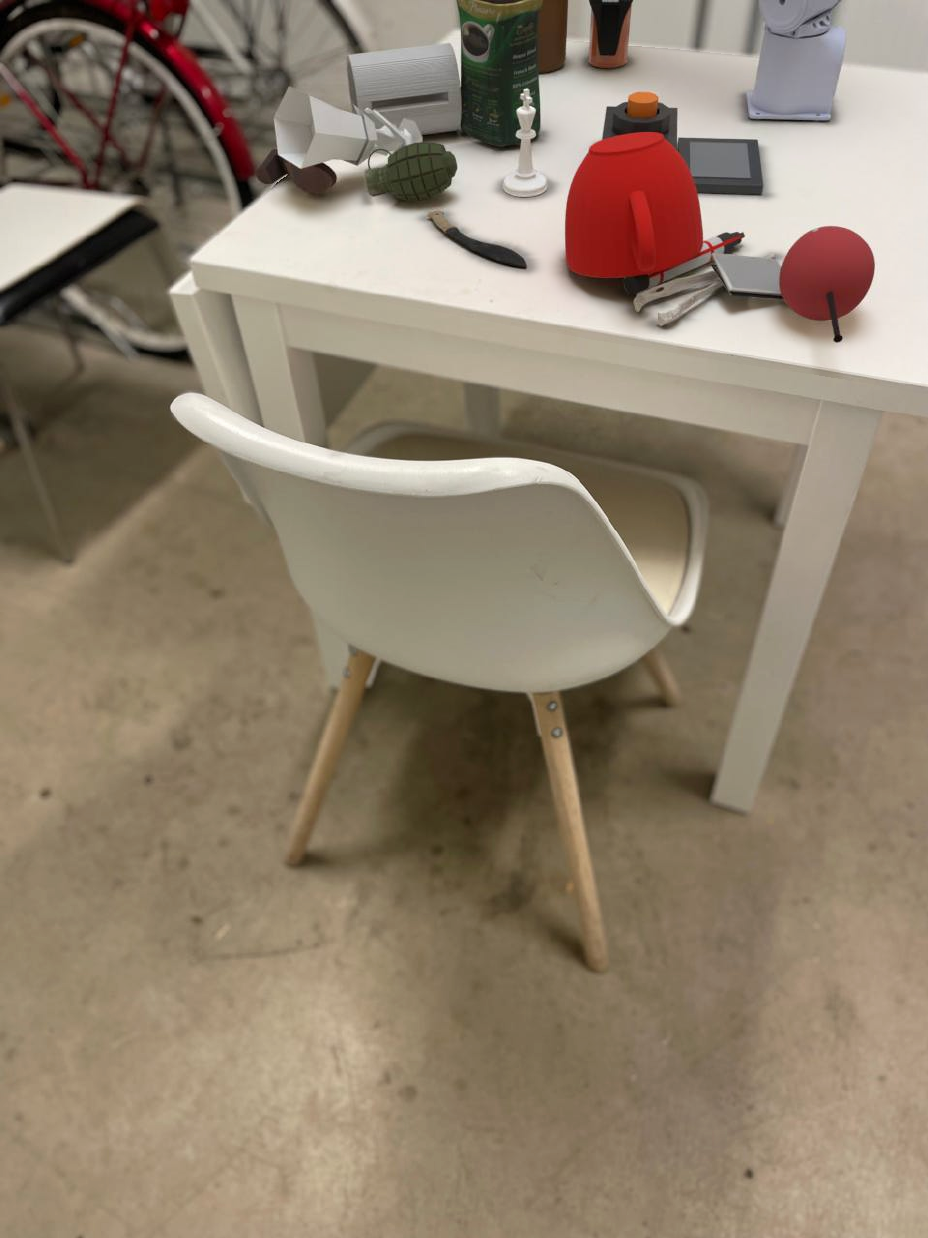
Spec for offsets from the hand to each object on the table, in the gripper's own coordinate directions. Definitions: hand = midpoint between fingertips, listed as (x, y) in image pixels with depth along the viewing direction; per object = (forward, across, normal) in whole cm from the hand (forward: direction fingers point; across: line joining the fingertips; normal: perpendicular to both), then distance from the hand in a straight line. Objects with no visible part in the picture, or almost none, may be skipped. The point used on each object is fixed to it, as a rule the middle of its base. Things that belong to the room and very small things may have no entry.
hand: (608, 46), depth 128 cm
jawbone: (+3, +59, +13) cm, 60 cm away
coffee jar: (+2, +25, -12) cm, 27 cm away
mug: (+2, +3, -11) cm, 12 cm away
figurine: (-6, +45, -31) cm, 55 cm away
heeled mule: (0, +42, -33) cm, 54 cm away
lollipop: (-3, +74, +22) cm, 77 cm away
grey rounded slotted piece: (-3, +28, -29) cm, 40 cm away
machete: (+3, +50, -8) cm, 51 cm away
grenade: (-2, +41, -14) cm, 43 cm away
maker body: (+2, +33, +5) cm, 33 cm away
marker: (+1, +56, +12) cm, 57 cm away
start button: (-4, +33, +5) cm, 34 cm away
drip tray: (+2, +33, +14) cm, 36 cm away
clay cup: (+2, 0, 0) cm, 2 cm away
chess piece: (+2, +39, -7) cm, 40 cm away
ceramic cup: (-10, +56, +4) cm, 57 cm away
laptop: (-1, +60, +17) cm, 62 cm away
